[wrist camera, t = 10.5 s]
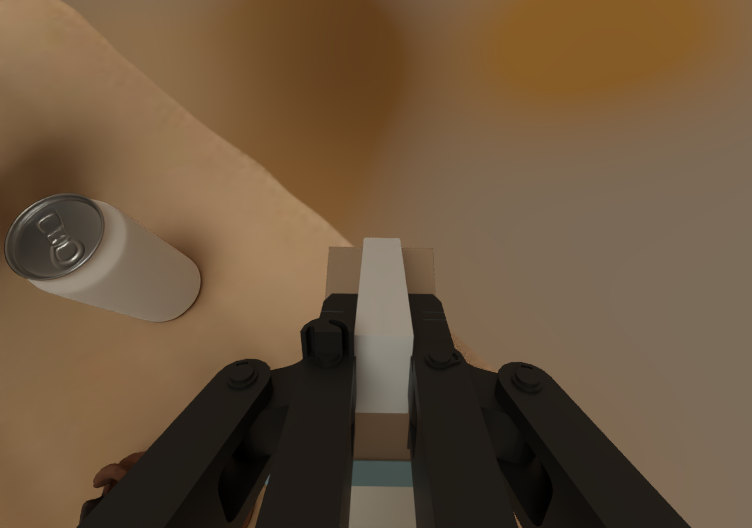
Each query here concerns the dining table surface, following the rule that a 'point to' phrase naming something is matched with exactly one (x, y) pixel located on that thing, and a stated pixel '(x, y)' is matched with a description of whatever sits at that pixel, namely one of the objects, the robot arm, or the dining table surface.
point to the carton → (382, 507)
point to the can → (100, 258)
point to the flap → (380, 430)
